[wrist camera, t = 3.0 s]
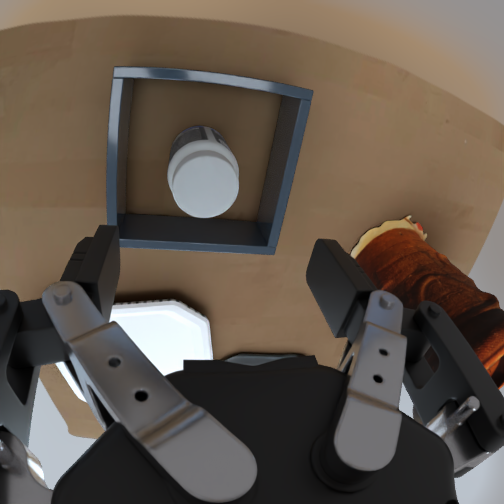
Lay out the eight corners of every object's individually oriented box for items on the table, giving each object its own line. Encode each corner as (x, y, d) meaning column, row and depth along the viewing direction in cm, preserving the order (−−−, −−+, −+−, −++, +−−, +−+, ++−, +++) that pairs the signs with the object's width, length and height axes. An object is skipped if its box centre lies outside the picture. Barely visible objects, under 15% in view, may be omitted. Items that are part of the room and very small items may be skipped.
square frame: (117, 221, 27) (108, 247, 23) (126, 66, 20) (113, 66, 16) (262, 229, 30) (274, 255, 27) (293, 86, 23) (314, 90, 20)
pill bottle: (166, 175, 26) (160, 219, 19) (176, 121, 23) (171, 143, 16) (221, 182, 27) (235, 228, 20) (233, 130, 25) (254, 157, 18)
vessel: (449, 242, 37) (545, 343, 20) (385, 319, 42) (454, 431, 26) (393, 190, 31) (532, 315, 14) (315, 290, 36) (393, 444, 19)
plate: (205, 285, 32) (207, 299, 31) (216, 391, 44) (218, 404, 42) (30, 298, 29) (24, 311, 27) (87, 398, 40) (85, 409, 38)
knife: (317, 353, 43) (318, 356, 42) (306, 370, 45) (307, 373, 44) (220, 350, 38) (221, 354, 38) (213, 368, 40) (214, 372, 40)
